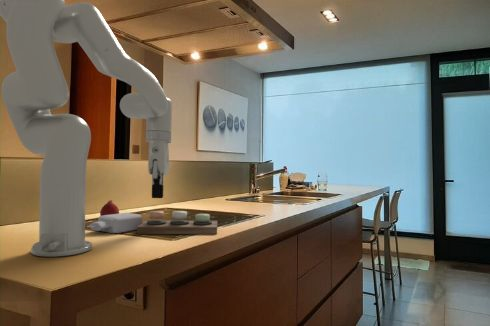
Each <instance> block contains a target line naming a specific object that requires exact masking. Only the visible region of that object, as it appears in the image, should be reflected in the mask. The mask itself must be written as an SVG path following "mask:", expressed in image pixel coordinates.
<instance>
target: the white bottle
mask: <svg viewBox="0 0 490 326" xmlns="http://www.w3.org/2000/svg"><path fill="white" fill-rule="evenodd" d="M97 220H98V221H93V222H92V223H90V224H89V225H87V226H86V228H90V229H91V230H92V231H95V232H103V233H104V232H105V233H109V234H114V233H117V234H121V233H122V232H123V233H128V232H133V231H137V227H138V226H139V225H140V224H142V223H143V216H142V215H141V214H138V213H131V212H122V213H121V212H119V214H111V215H103V216H99V217H97Z"/></svg>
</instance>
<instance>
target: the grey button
mask: <svg viewBox="0 0 490 326" xmlns="http://www.w3.org/2000/svg"><path fill="white" fill-rule="evenodd" d="M171 218H172V219H174V220H186V219H187V218H188V211H186V210H174V211H172V217H171Z"/></svg>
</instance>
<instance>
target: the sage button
mask: <svg viewBox="0 0 490 326" xmlns="http://www.w3.org/2000/svg"><path fill="white" fill-rule="evenodd" d="M194 215H195V219H194V221H198V222H206V221H211V215H210V214H209V213H197V214H194Z"/></svg>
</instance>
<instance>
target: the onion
mask: <svg viewBox="0 0 490 326" xmlns="http://www.w3.org/2000/svg"><path fill="white" fill-rule="evenodd" d="M119 213H120V209H119V207H118V206H117V205H116V204H115V203H113V200H112V199H110V200H108V201H107V202H106V203H105V204H104V205H103V206H102V207H101V209H100V212H99V215H100V216H103V215H111V214H119ZM100 216H99V217H100Z"/></svg>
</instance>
